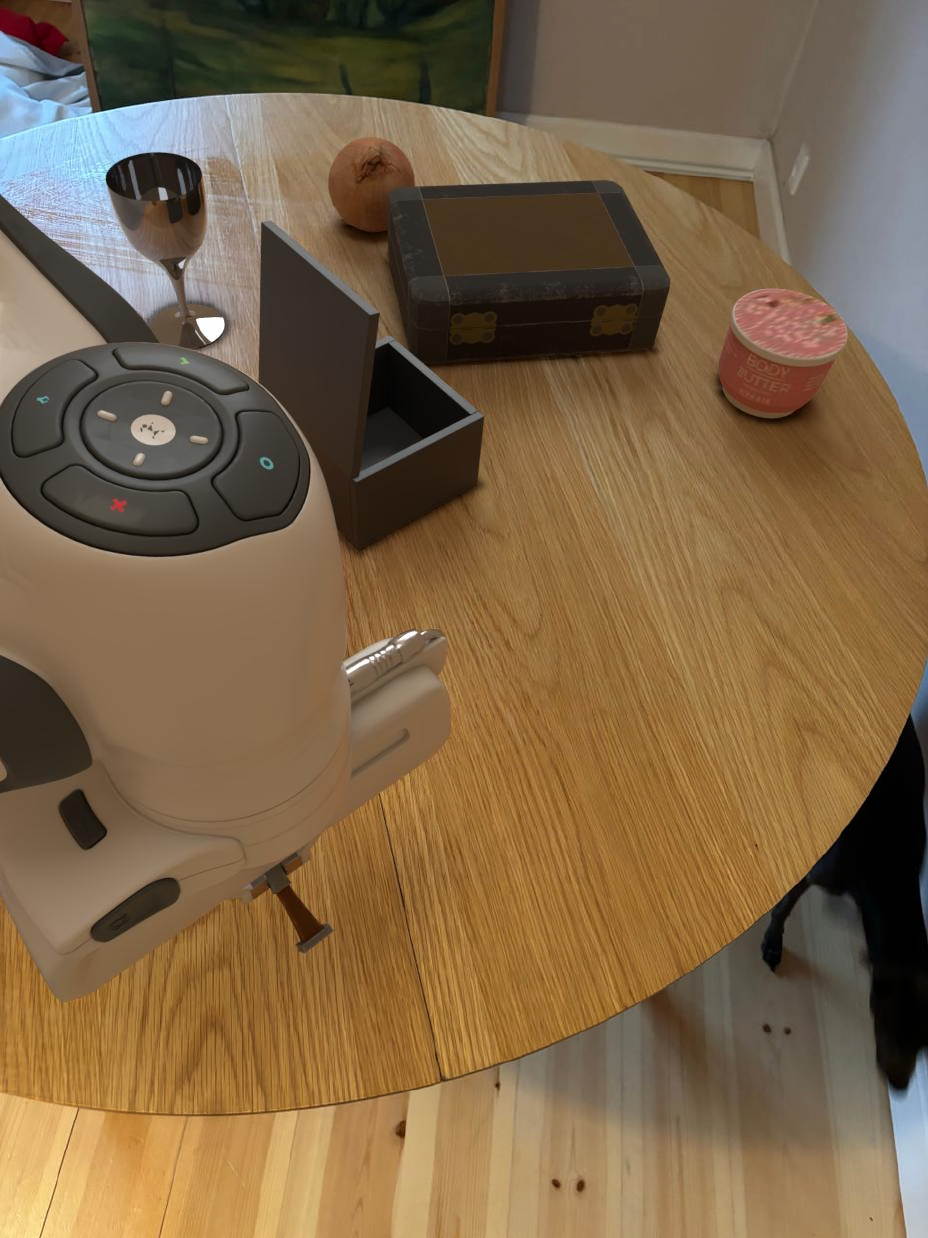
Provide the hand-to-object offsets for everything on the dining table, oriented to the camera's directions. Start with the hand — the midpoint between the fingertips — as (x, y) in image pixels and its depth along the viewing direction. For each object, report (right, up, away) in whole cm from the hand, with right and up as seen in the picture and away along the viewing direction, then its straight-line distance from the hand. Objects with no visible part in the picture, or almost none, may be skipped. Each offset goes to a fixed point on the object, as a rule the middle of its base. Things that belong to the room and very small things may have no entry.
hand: (269, 871), depth 45 cm
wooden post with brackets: (0, -2, +2) cm, 2 cm away
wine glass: (-17, +41, +43) cm, 62 cm away
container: (+39, +35, +42) cm, 67 cm away
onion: (0, +57, +55) cm, 80 cm away
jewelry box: (+15, +46, +49) cm, 69 cm away
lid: (-1, +32, +18) cm, 37 cm away
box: (+2, +25, +32) cm, 41 cm away
